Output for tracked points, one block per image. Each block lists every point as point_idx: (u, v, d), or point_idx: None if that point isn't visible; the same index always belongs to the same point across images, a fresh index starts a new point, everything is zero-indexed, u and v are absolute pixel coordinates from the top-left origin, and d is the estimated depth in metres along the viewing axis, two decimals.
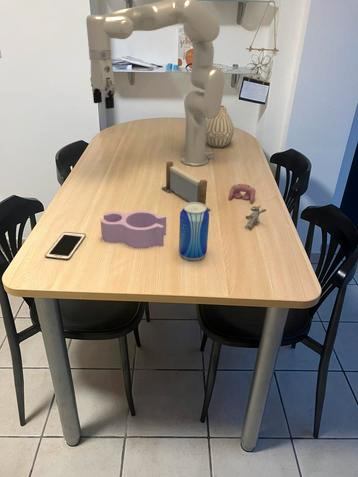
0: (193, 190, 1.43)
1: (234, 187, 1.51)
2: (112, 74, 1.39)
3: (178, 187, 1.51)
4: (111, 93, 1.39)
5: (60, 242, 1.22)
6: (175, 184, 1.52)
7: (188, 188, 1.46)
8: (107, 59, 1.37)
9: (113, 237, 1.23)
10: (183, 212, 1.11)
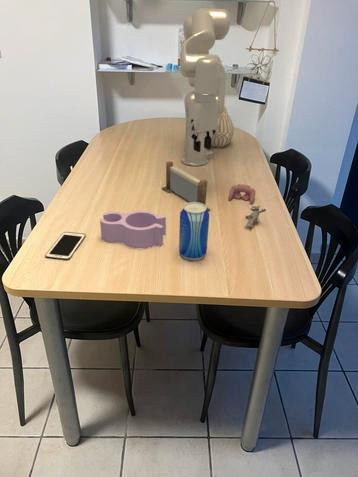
0: (193, 190, 1.43)
1: (234, 187, 1.51)
2: None
3: (178, 187, 1.51)
4: None
5: (60, 242, 1.22)
6: (175, 184, 1.52)
7: (188, 188, 1.46)
8: None
9: (112, 237, 1.23)
10: (183, 212, 1.11)
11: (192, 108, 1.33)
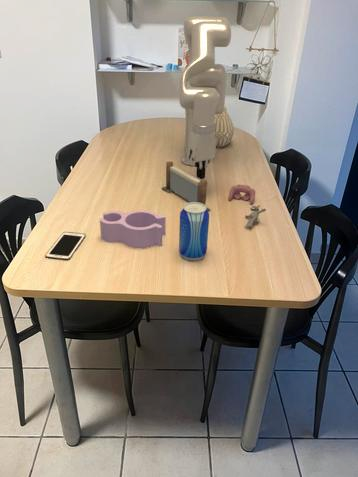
0: (193, 190, 1.43)
1: (234, 188, 1.51)
2: None
3: (178, 187, 1.51)
4: None
5: (60, 242, 1.22)
6: (175, 184, 1.52)
7: (188, 188, 1.46)
8: None
9: (112, 236, 1.23)
10: (183, 212, 1.11)
11: (191, 139, 1.39)
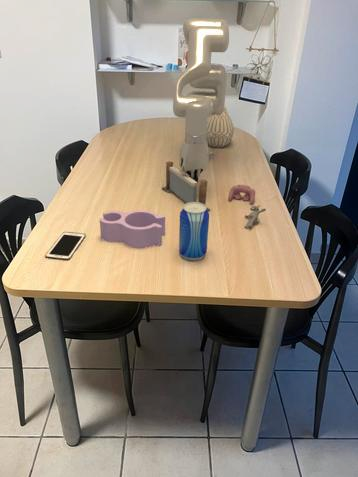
0: (189, 191, 1.43)
1: (234, 188, 1.51)
2: None
3: (176, 188, 1.51)
4: None
5: (60, 242, 1.22)
6: (174, 184, 1.52)
7: (185, 189, 1.45)
8: None
9: (112, 236, 1.23)
10: (183, 212, 1.11)
11: (182, 147, 1.39)
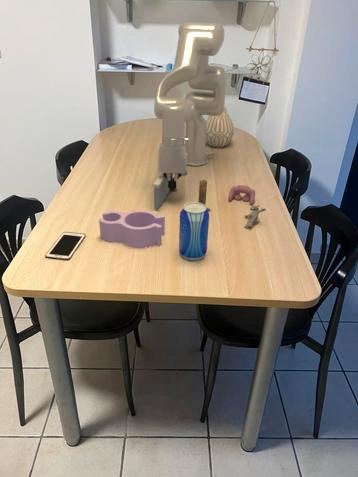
0: None
1: (234, 189, 1.50)
2: None
3: None
4: None
5: (60, 242, 1.22)
6: None
7: None
8: None
9: (111, 236, 1.23)
10: (183, 212, 1.11)
11: (159, 148, 1.38)
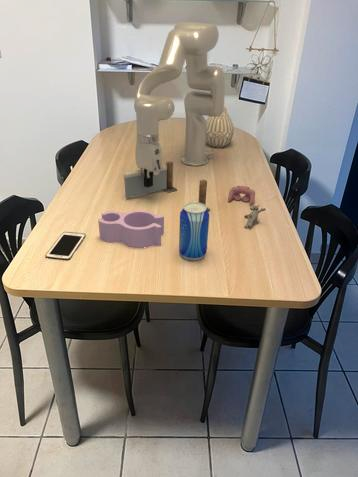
0: None
1: (233, 189, 1.50)
2: (161, 155, 1.39)
3: None
4: (153, 174, 1.42)
5: (60, 242, 1.22)
6: None
7: None
8: (156, 142, 1.37)
9: (111, 236, 1.23)
10: (183, 212, 1.11)
11: None
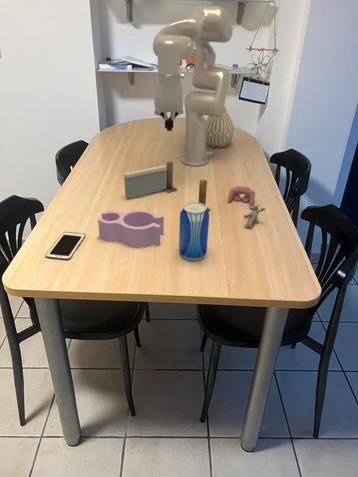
0: None
1: (233, 190, 1.49)
2: None
3: None
4: None
5: (60, 242, 1.22)
6: None
7: None
8: None
9: (110, 236, 1.23)
10: (183, 212, 1.11)
11: (155, 87, 1.39)
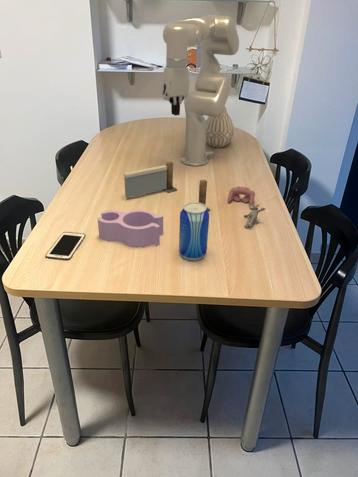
0: None
1: (233, 190, 1.49)
2: None
3: None
4: None
5: (60, 242, 1.22)
6: None
7: None
8: None
9: (110, 235, 1.24)
10: (183, 212, 1.11)
11: (164, 73, 1.44)
